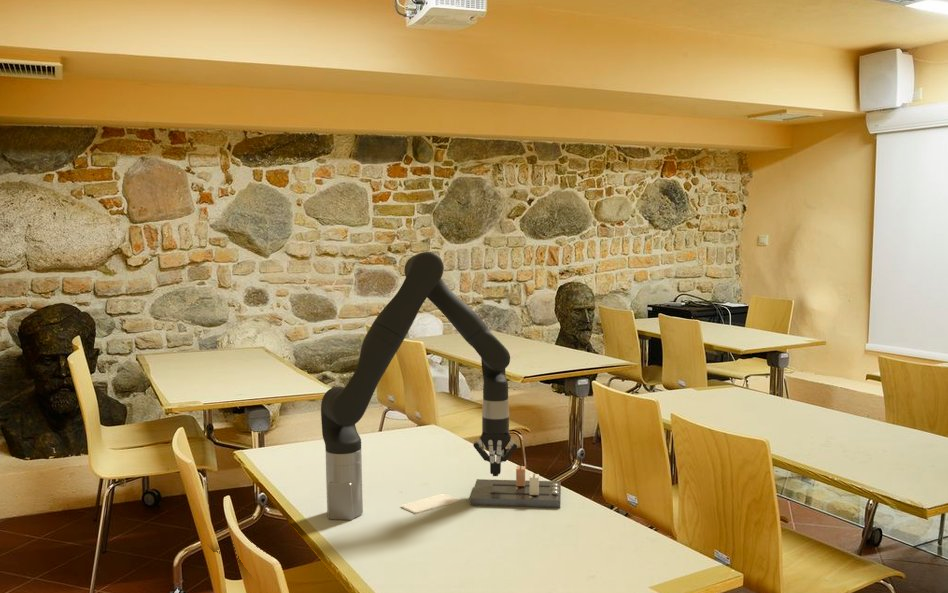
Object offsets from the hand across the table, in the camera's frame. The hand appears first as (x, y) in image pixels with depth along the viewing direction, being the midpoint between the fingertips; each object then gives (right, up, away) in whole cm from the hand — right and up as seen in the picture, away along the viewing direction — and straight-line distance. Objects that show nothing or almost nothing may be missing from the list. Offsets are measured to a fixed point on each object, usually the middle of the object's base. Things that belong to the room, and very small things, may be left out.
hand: (495, 475), depth 227 cm
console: (+6, -5, -4) cm, 9 cm away
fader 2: (+10, -3, -8) cm, 13 cm away
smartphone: (-18, -6, -9) cm, 21 cm away
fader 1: (+7, -2, -1) cm, 7 cm away
